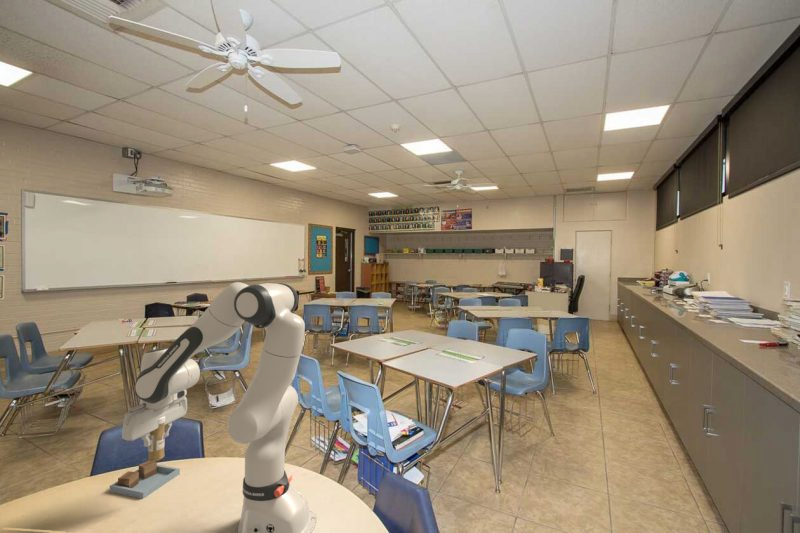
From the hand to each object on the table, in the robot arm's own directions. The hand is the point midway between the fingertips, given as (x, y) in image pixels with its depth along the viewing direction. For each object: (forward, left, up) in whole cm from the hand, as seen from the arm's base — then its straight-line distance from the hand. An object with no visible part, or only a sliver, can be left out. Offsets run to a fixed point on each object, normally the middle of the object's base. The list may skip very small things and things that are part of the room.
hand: (156, 441), depth 112 cm
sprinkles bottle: (0, 0, -6) cm, 6 cm away
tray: (+12, -7, -20) cm, 24 cm away
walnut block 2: (+15, -10, -19) cm, 27 cm away
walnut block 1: (+15, -3, -19) cm, 25 cm away
